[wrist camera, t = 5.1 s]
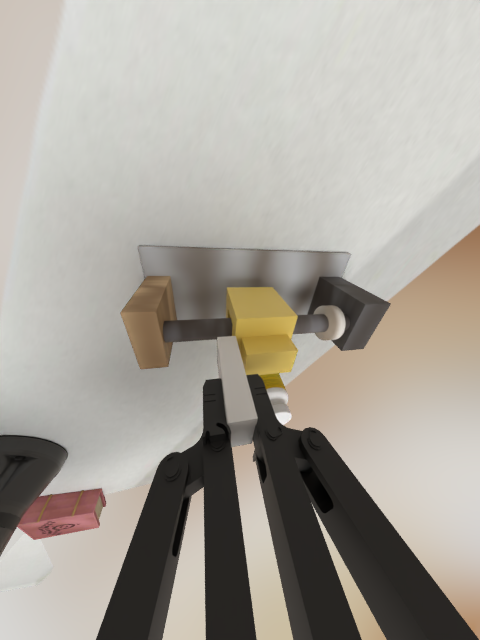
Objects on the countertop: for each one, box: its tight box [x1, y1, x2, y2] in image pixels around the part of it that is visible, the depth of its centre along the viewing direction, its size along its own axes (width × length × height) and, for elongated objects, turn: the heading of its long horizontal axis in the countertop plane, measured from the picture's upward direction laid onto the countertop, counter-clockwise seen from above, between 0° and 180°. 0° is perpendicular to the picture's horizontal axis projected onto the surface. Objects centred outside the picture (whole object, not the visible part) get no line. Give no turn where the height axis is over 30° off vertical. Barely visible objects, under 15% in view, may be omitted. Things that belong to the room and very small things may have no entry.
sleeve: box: [226, 287, 298, 375], centre depth 17 cm, size 5×6×8 cm
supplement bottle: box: [259, 373, 291, 425], centre depth 28 cm, size 5×5×10 cm
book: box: [17, 489, 106, 540], centre depth 47 cm, size 14×15×5 cm
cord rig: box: [121, 246, 390, 369], centre depth 20 cm, size 25×12×9 cm, turn 86°
